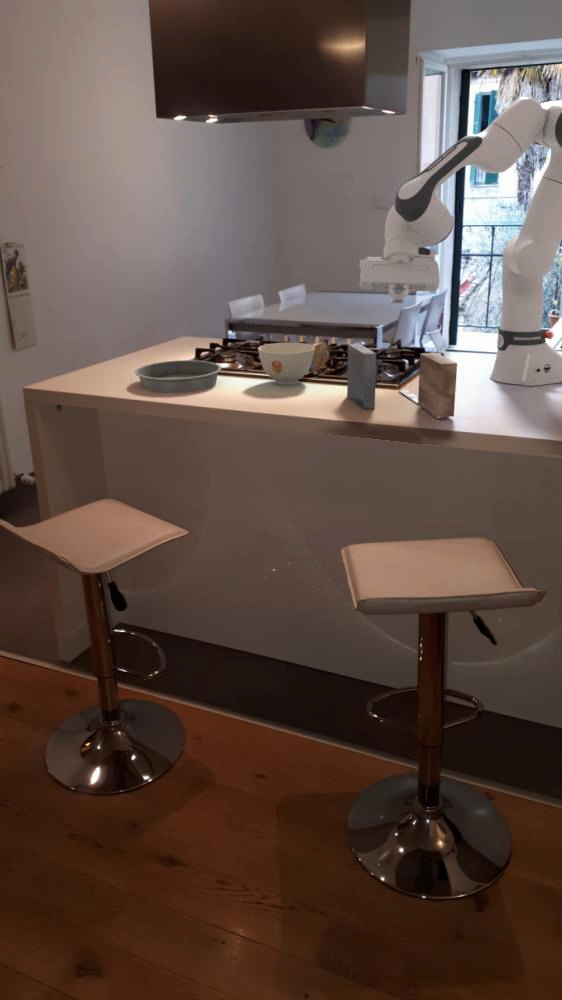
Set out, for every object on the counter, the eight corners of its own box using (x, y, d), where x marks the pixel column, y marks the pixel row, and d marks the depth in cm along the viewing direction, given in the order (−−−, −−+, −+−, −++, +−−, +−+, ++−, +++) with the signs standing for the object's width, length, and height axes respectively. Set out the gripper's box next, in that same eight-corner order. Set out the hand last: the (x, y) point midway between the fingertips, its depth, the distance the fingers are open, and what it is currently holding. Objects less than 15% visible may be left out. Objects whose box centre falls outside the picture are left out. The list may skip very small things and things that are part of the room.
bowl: (326, 381, 232) (326, 346, 228) (288, 392, 221) (288, 355, 217) (285, 373, 242) (284, 340, 238) (247, 383, 231) (246, 348, 227)
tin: (311, 377, 238) (311, 348, 234) (301, 376, 239) (301, 347, 236) (330, 366, 250) (331, 339, 247) (321, 366, 251) (321, 339, 248)
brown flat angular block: (432, 402, 205) (435, 352, 200) (453, 416, 193) (457, 363, 188) (417, 404, 204) (420, 353, 199) (438, 417, 192) (441, 364, 187)
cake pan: (171, 371, 248) (170, 357, 247) (238, 379, 237) (237, 364, 235) (118, 388, 229) (116, 372, 227) (187, 398, 217) (186, 382, 215)
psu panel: (406, 391, 220) (409, 339, 214) (446, 417, 195) (450, 359, 190) (346, 395, 216) (346, 343, 211) (378, 422, 192) (380, 364, 187)
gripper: (360, 248, 207) (356, 292, 202) (440, 250, 205) (439, 294, 199) (359, 265, 213) (356, 308, 207) (438, 267, 211) (437, 310, 205)
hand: (398, 301), depth 203 cm, fingers closed
